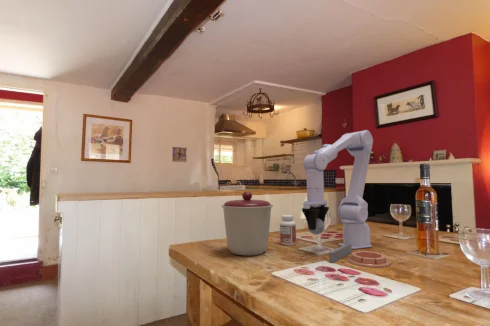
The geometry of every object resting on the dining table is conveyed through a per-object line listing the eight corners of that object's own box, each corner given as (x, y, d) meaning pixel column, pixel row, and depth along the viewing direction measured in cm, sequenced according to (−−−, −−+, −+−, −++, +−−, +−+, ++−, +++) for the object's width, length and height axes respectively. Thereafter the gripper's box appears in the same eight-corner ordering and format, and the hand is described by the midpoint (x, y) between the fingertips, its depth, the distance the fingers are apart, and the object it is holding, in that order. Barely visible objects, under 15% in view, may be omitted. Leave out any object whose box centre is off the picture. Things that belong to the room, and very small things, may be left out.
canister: (226, 261, 91) (225, 193, 92) (218, 248, 108) (218, 191, 110) (281, 257, 95) (280, 192, 96) (264, 245, 112) (264, 190, 114)
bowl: (368, 255, 97) (367, 248, 97) (399, 264, 86) (399, 257, 86) (339, 259, 92) (339, 252, 92) (369, 269, 81) (368, 262, 81)
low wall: (348, 252, 101) (347, 243, 101) (351, 252, 100) (351, 243, 100) (329, 262, 88) (329, 252, 88) (333, 263, 88) (332, 252, 88)
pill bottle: (291, 241, 119) (290, 214, 119) (299, 244, 113) (298, 216, 114) (277, 243, 117) (277, 215, 117) (284, 246, 111) (284, 216, 111)
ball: (317, 232, 103) (317, 216, 104) (328, 234, 98) (327, 218, 99) (304, 233, 101) (304, 217, 102) (314, 236, 96) (314, 219, 97)
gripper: (313, 188, 109) (314, 224, 108) (294, 189, 98) (295, 230, 97) (332, 188, 105) (333, 226, 104) (314, 189, 93) (314, 232, 92)
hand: (316, 228), depth 100 cm, fingers closed on ball, 5 cm apart
